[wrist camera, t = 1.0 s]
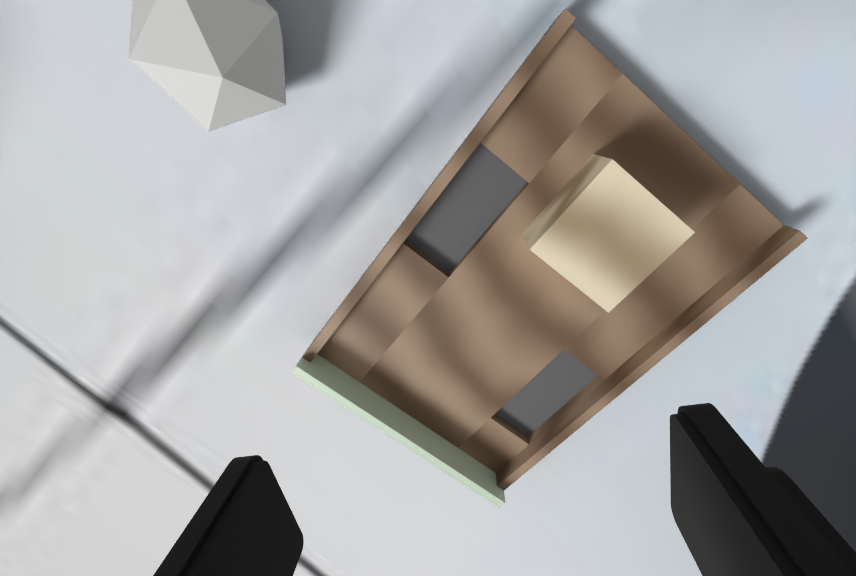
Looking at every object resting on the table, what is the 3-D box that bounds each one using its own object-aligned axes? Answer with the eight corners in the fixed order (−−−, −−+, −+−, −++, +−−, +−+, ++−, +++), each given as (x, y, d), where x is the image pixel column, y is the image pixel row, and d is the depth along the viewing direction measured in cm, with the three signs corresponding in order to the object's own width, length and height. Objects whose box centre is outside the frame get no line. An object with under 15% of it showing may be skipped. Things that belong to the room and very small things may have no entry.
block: (592, 153, 28) (612, 159, 24) (665, 218, 29) (695, 232, 25) (521, 233, 30) (529, 249, 27) (591, 290, 32) (608, 312, 28)
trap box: (555, 19, 26) (565, 8, 24) (779, 228, 30) (807, 238, 27) (313, 341, 37) (302, 357, 34) (501, 467, 40) (503, 490, 38)
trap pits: (478, 140, 29) (478, 140, 29) (675, 305, 33) (677, 306, 32) (348, 310, 35) (347, 311, 35) (527, 435, 39) (527, 436, 38)
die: (329, 106, 30) (294, -25, 21) (230, 178, 28) (142, 70, 19) (259, 35, 31) (195, -119, 22) (159, 99, 29) (44, -38, 20)
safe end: (313, 341, 37) (296, 365, 33) (501, 467, 40) (505, 502, 36) (308, 347, 37) (291, 372, 33) (495, 472, 40) (499, 507, 37)
